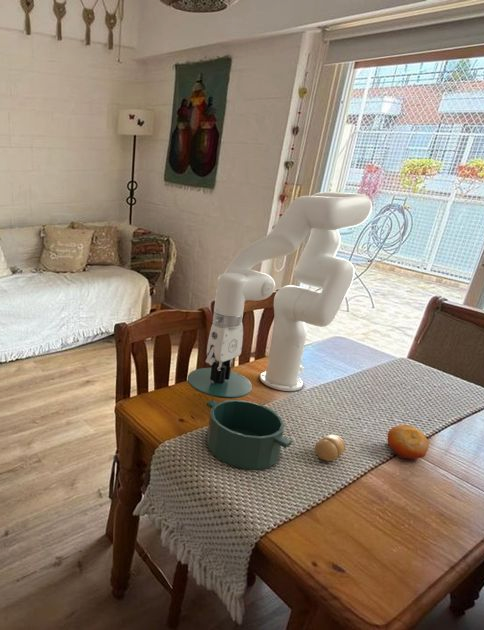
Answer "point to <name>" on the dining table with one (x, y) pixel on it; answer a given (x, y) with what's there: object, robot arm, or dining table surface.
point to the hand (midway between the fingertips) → (219, 379)
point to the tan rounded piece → (330, 447)
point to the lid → (224, 389)
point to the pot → (245, 434)
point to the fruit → (407, 442)
